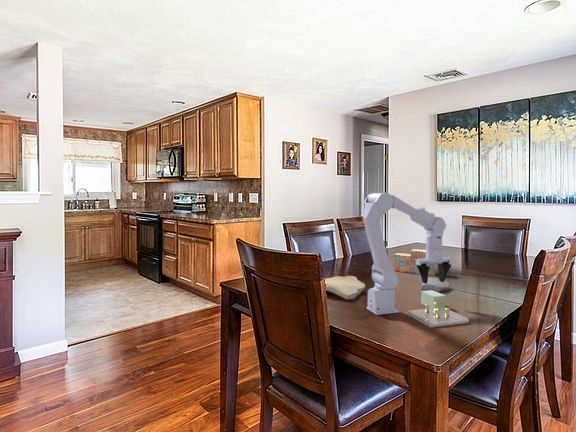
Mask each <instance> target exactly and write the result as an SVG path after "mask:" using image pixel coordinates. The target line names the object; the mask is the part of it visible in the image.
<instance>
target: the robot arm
mask: <svg viewBox="0 0 576 432" xmlns="http://www.w3.org/2000/svg"><path fill="white" fill-rule="evenodd" d="M363 203H364V208H363V214H362V220H363V226H364V230H365V232H366V238H367V241H368V246H369V248H370V253H371V258H372V261H373V264H372V265H371V271H372V272H371V280H372V281H373V282H374V287H372V288H369V289H368V290H367V306H366V309H367V310H368V311H370V312H371V313H373V314H375V315H377V316H378V315H380V316H381V315H389V314H390V315H391V314H395V313H396V314H399V313H400V311H399V310H398V309H396V308H395V300H396V299H395V297H396V296H395V294H396V292H395V291H396V287H397V286H398V284H399V282H400V279H399V276H398V274H397V272H396V271H394V265H392V264H391V262H390V259H389V256H388V253H387V249H386V245H385V240H384V236H383V233H382V228H381V224H380V219H382V217H383V215H385V214H386V213H388V211H390V210H391V209H395V210H397V211H399V212H401V213H403V214H406V215H408V216H409V218H410V219H409V220H411V221H412V222H414V223H415V224H418V225H419V226H421V227H423V228H424V230H426V231H425V232H426V235H425V236H426V240H425V242H426V243H425V244H426V246H425V250H426V258H423V259H417V260H416V265H417V268H418V270H419V272H420V274H419V275H420V278H421V281H422V282H423V283H425V284H427V282H428V278H429V275H428V272H429V269H430V267H428V266H427V265H426V264H437V268H438V279H439V281H441V282H444V281H446V277H447V274H448V272H449V271H450V269H451V267H452V257H443V235H444V232H445V230H446V227H447V223H446V221H445V220H444V218H443V217H440V216H436V215H435V213H434V212H429V211H427V210H426V208H425V207H424V206H420V207H419V206H417V207H414V206H412V205H410V204H409V203H406V202H405V201H404V200H402V199H401V198H398V197H397V196H396V195H393V194H390V193H389V192H370V193H369V194H368V195H367V197H366V198H365V200H364V201H363ZM422 282H421V283H422Z"/></svg>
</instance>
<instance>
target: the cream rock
mask: <svg viewBox="0 0 576 432" xmlns="http://www.w3.org/2000/svg"><path fill="white" fill-rule="evenodd" d="M324 279H325V284H326V292H330V293H332V294H335V295H337V296H338V297H341V298H343V299H345V300H347V301H348V300H349V301H350V300H355V298H356V297H358V296H359V295H360V294H361V293H362V292H363V290H364V289H365V288H366V284H365V283H364V282H361V281H360V280H358V277H357V276H354V275H353V276H352V275H346V276H338V275H337V276H334V277H328V278H327V277H326V278H325V277H324Z"/></svg>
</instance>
